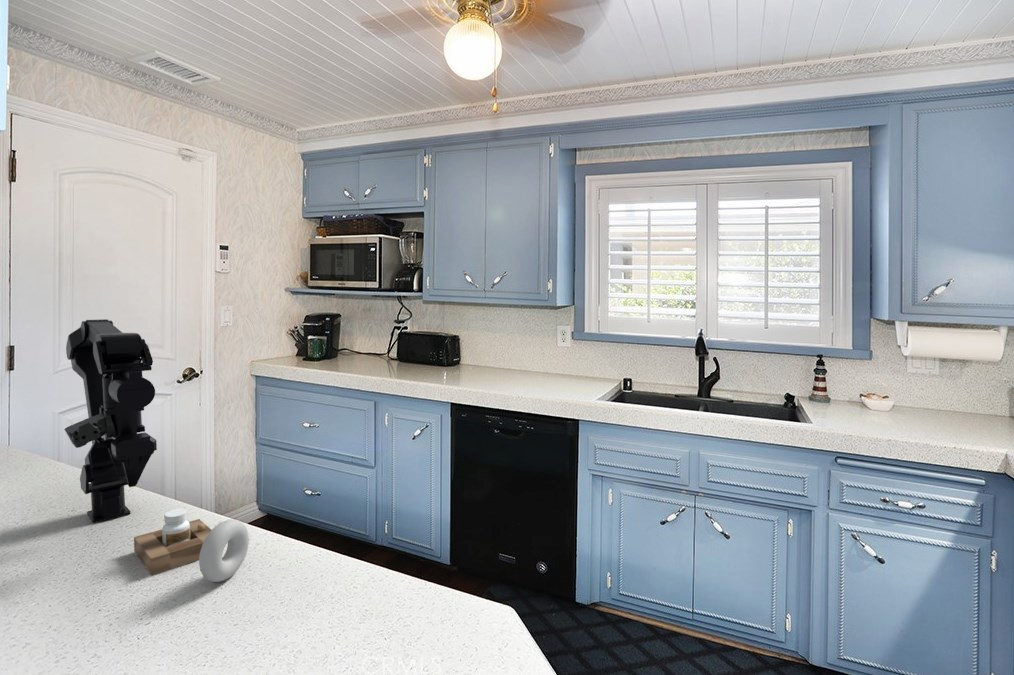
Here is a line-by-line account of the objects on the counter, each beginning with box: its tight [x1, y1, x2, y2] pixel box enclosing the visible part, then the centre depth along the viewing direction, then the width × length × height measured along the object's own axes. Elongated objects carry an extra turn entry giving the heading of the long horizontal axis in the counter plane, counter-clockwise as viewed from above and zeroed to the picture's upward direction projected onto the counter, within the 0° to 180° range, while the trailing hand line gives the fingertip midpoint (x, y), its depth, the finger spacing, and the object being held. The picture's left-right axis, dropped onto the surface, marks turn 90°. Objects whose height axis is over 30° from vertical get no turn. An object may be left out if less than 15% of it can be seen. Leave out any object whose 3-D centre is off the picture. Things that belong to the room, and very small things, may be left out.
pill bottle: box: [161, 508, 190, 547], centre depth 99 cm, size 4×4×8 cm
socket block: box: [133, 518, 212, 576], centre depth 99 cm, size 11×11×4 cm
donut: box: [198, 519, 250, 583], centre depth 91 cm, size 10×4×10 cm, turn 168°
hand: (126, 479), depth 102 cm, fingers open, 9 cm apart
